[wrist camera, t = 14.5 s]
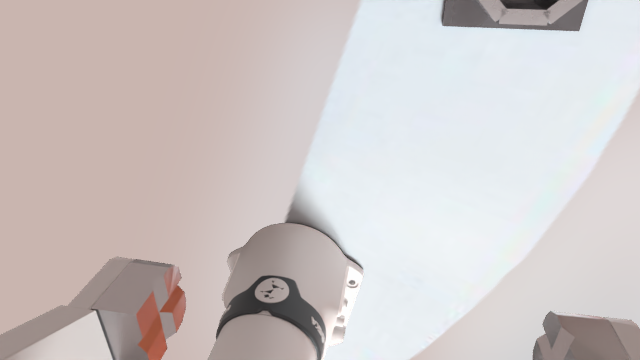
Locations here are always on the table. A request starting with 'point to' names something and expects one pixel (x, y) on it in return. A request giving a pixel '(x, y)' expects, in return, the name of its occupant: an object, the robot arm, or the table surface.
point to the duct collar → (516, 14)
